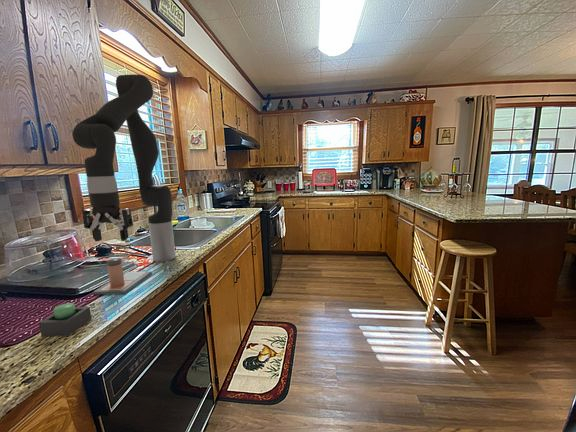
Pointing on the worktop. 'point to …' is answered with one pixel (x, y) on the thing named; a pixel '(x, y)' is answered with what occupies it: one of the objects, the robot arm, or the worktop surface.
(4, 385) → the worktop surface
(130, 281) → the picture board
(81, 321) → the button housing
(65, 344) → the worktop surface
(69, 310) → the button
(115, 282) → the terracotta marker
